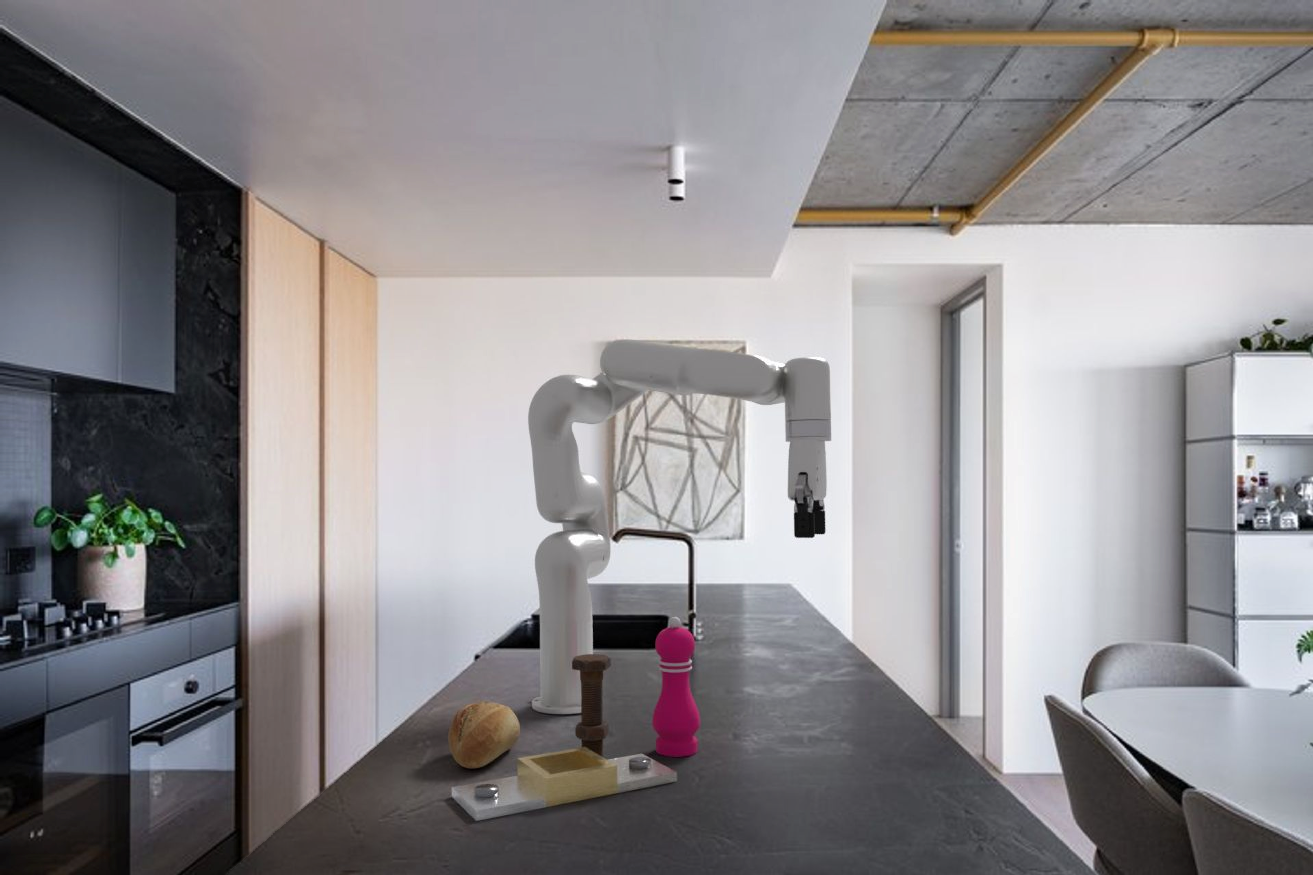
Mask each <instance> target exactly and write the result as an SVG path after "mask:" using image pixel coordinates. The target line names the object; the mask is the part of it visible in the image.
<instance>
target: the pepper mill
mask: <svg viewBox="0 0 1313 875" xmlns="http://www.w3.org/2000/svg"><path fill="white" fill-rule="evenodd" d="M668 624H669V627H666V628H664V629H662V630H661V631H660V632H659V633H657V634H658V635H656V638H655V645H654V646H655V651H656V654H658V656H659V658H660V659H659V660H658V664H659V667H658V670H659V671H660V672H661V678H662V679H661V680H662V681H661V691H660V694H659V697H658V701H657V703H656V705H655V707H654V710H653V714H652V720H651V721H652V728H653V729H654V731H655V732H656V734H657V735H658V737H657V738H656V739H655V751H656V754H658V755H661V756H663V755H664V756H665V757H668V758H669V757H670V758H678V757H679V758H683V757H689V756H692V755H694V754H696V753H697V752H698V739H697V738H696V736H695V734H696V733H697V731H699V729H700V726H701V716H700V713H699V710H698V706H697V705H696V702H695V699H694V697H693V694H692V692H691V691H692V690H691V688H690V680H689V679H690V671H691V670H692V669H693V666H692V663H693V660H692V659H691V656H692V655H693V653H694V652H695V650H696V642H695V637H694V636H693V633H691V631H689V630H688V629H687V628H684V627H681V619H680V618H679V617H677V616H672V617H671V618H670V619H669V620H668Z"/></svg>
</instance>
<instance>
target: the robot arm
mask: <svg viewBox="0 0 1313 875" xmlns="http://www.w3.org/2000/svg"><path fill="white" fill-rule="evenodd" d="M599 366H600V369H601V372H600V373H599V374H598V375H595V377H593V378H590V377H589V378H588V377H585V376H581V375H575V374H561V375H558V376H554V377H552V378H550V379H549V380H547V381H546V382H545V383H543V384H542V385H541V386H540V387H539V389H537V390H536V392H535V393H534V395H533V397H532V399H531V401H530V404H529V408H528V416H527V420H528V421H527V423H528V424H527V425H528V433H529V438H530V447H531V455H532V470H533V471H532V473H533V478H534V490H535V492H534V493H535V501H536V507H537V510H538V513H539V515H540V516H541V517H542V518H543V519H544V520H545V521H547V522H548V523H552V524H561V525H562V530H561V531H556V532H553V533H551V534H549V535H547V536H546V537H545V538H543V540H542V541H541V542H540V543H539V545H538V546H537V549H536V550H535V551H536V552H535V555H534V556H535V557H534V568H535V570H534V572H535V576H536V581H537V586H538V598H539V599H538V600H539V650H540V651H539V655H540V657H539V658H540V659H539V662H540V666H539V668H540V670H539V674H540V677H539V679H540V680H539V681H540V682H539V685H540V688H539V689H540V695H539V696H536V697H535V698H533V699H532V701H531V708H532V709H533V710H534V711H536V712H539V713H543V714H550V715H575V714H581V712H582V711H581V710H582V709H581V705H582V704H581V703H582V702H581V698H582V697H581V696H582V695H581V691H582V690H581V680H580V671H579V670H574V669H572V661H573V659H574V657H576V656H579V655H585V654H594V650H593V649H594V646H593V645H594V643H593V642H594V639H593V638H594V637H593V636H594V635H593V634H594V632H593V603H592V595H591V590H590V586H589V582H588V580H589V579H593V578H595V577H597V576H599V575H600V574H602V573H603V572H604V571H605V570H606V569H607V567H608V564H609V563H610V559H611V539H610V529H609V521H608V520H609V519H608V518H609V517H608V511H607V510H608V509H607V502H606V501H607V500H606V496H605V493H604V490H603V487H602V486H601V483H600V482H599V481H598V480H597V479H596V478H595V477H593V476H592V475H590V474H588V473H586V472H585V473H584V472H581V468H580V467H581V466H580V459H579V458H580V457H579V455H580V454H579V448H578V447H579V446H578V444H577V439H576V438H575V435H574V432H573V424H574V423H579V424H586V425H597V424H601V423H604V422H606V421H607V420H609V419H611V418H612V417H614V416H616V414H618V413H619V412H621V411H623V410H624V409H625V408H626V407H628V406H629V405H631V404H632V403H633V402H635V401H636V400H638V399H639V398H640V397H642V396H643V395H644V394H645V393H646V392H648V391H650V392H651V391H652V392H659V393H665V394H671V395H676V396H691V395H693V394H698V395H699V394H700V395H709V396H716V397H722V398H723V397H724V398H730V399H736V400H741V401H748V402H751V403H755V404H758V405H761V406H770V405H771V406H773V405H777V404H778V405H779V404H783V403H784V421H785V422H784V423H785V424H784V425H785V426H784V427H785V430H784V431H785V442H787V443H788V442H789V448H788V458H787V459H788V460H787V461H788V462H787V463H788V465H787V467H788V468H787V498H788V499H789V500H790V501H794V507H793V532H794V533H793V535H794V537H795V538H797V539H813V538H815V536H816V535H825V534H826V510H825V500H824V499H825V498H826V496H827V487H828V486H827V485H828V484H827V480H828V479H827V457H826V455H827V452H826V442H831V441H832V421H831V420H832V414H831V413H832V412H831V409H832V408H831V371H830V368H831V367H830V364H829V362H828V361H827V360H826V359H825V358H821V357H812V356H811V357H810V356H807V357H796V358H791V359H789V360H788V361H787V362H783V363H782V362H774V361H771V360H769V359H767V358H765V357H763V356H759V355H754V354H748V353H741V352H732V351H725V350H724V351H723V350H716V349H714V350H713V349H704V348H697V347H691V346H683V345H673V344H666V343H657V342H650V341H643V340H634V339H624V338H623V339H617V340H614V341H612V342H610V343H608V344H607V345H606V346H605V347H604V349H603V350H602V351H601V354H600V358H599Z"/></svg>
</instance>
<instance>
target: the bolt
mask: <svg viewBox="0 0 1313 875" xmlns="http://www.w3.org/2000/svg"><path fill="white" fill-rule="evenodd" d="M611 662H612V659H611V657H610V656H608V655H606V654H601V653H600V654H599V653H593V654H585V655H579V656H576V657H574V659H573V661H572V669H574V670H579V671H580V680H581V690H582V691H581V695H582V696H581V697H582V698H581V702H582V703H581V704H582V705H581V709H582V710H581V711H582V712H581V713H580V714H581V715H580V716H581V717H580V718H581V719H580V721H579V722H577V724H575V725H576V726H575V731H574V732H575V737H576V738H578V740H581V746H580V747H586V748H588V749H589V750H591V751H593V752H595V753H596V754H598V755H600V756H601V757H603V758H604V739H606V738H607V736H608V735H609V732H610V730H609V729H610V727H609V726H610V725H609V723H607V721H604V713H603V712H604V708H603V707H604V706H603V704H604V703H603V702H604V701H603V699H604V696H603V695H604V694H603V693H604V690H603V686H604V685H603V680H604V671H606V670H608V669H609V668H610V667H612V666H611V665H612V663H611Z"/></svg>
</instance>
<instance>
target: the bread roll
mask: <svg viewBox="0 0 1313 875" xmlns="http://www.w3.org/2000/svg"><path fill="white" fill-rule="evenodd" d="M520 733H521V726H520V722H519V719H518V717H517V715H516V714H515V713H514V711H513V710H512V709H511V708H510V707H509V706H507V705H503V704H500V703H497V702H488V701H480V702H472V703H470V704H467V705H465V706H464V707H463V708H461V709H460V710H458V712H456V714H455V715H454V716H453V719H452V721H451V723H450V727H449V730H448V736H447V739H448V740H447V741H448V746H449V750H450V752H451V755H452V757H453V759H454V761H455V762H456V763H457V764H459V766H460V767H464V768H466V769H478V768H482V767H484V766H486V765H488V764H489V763H492V762H493V761H494V760H495V759H497V758H499V757H500V756H501V755H502V754H504V753H505V752H507V751H509V750H510V749H511V748H512V747H514V746H515V745H516V743H517V741H518V740H519V737H520V736H521V735H520Z"/></svg>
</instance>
